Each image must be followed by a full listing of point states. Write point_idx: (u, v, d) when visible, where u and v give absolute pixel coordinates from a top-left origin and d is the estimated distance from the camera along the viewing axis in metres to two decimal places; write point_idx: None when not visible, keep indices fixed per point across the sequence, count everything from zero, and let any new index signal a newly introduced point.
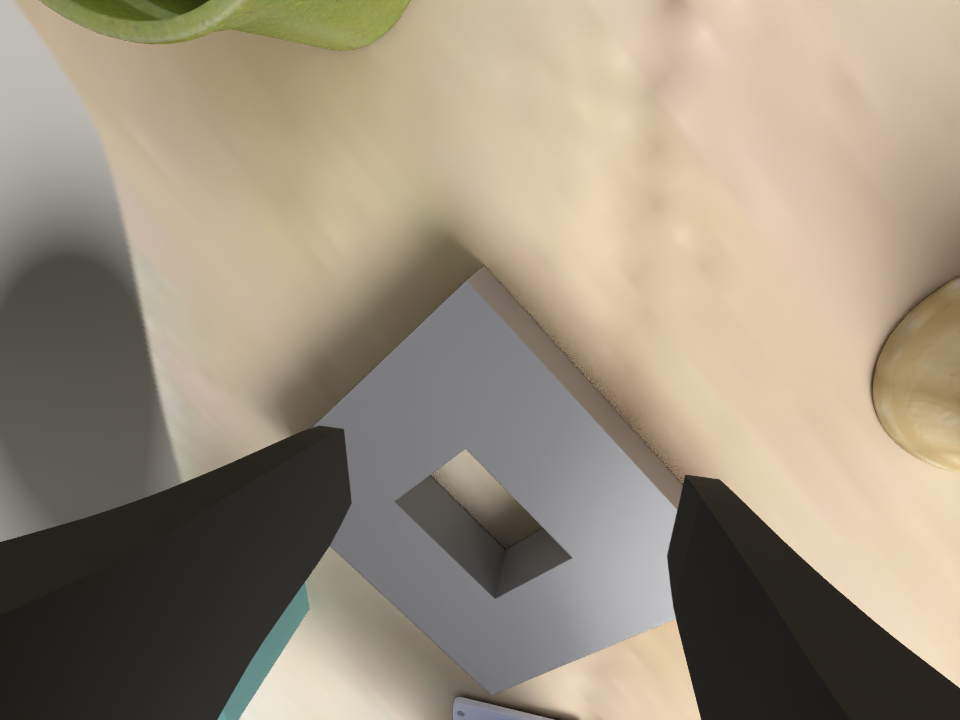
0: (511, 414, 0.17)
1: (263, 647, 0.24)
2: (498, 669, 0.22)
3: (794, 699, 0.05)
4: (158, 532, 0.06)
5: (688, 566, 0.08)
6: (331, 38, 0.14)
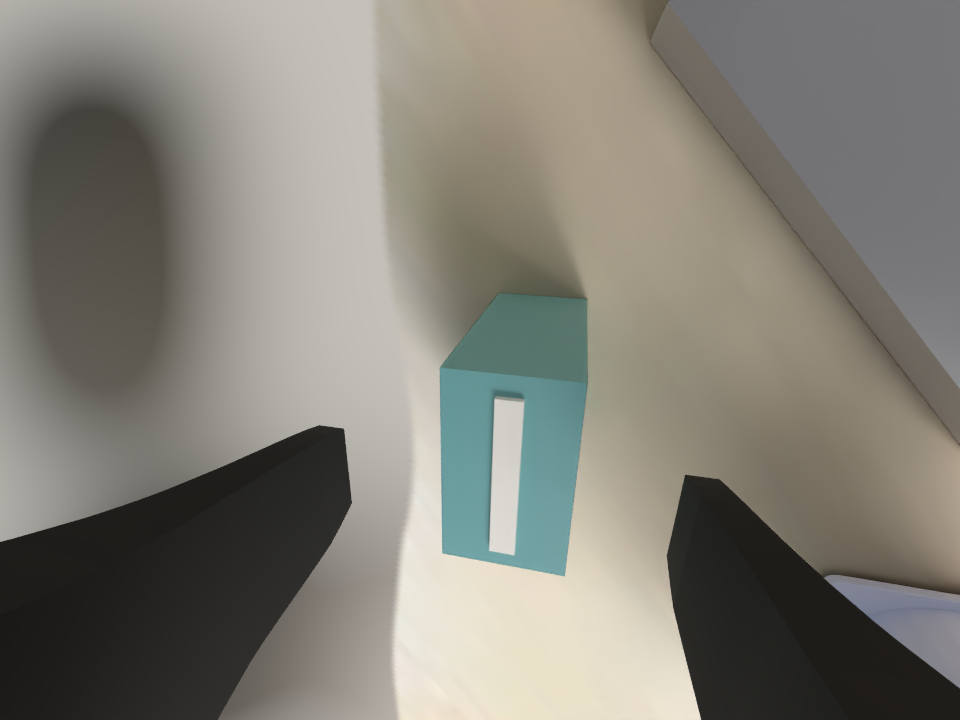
0: None
1: None
2: None
3: (794, 699, 0.05)
4: (157, 532, 0.06)
5: (688, 566, 0.08)
6: None
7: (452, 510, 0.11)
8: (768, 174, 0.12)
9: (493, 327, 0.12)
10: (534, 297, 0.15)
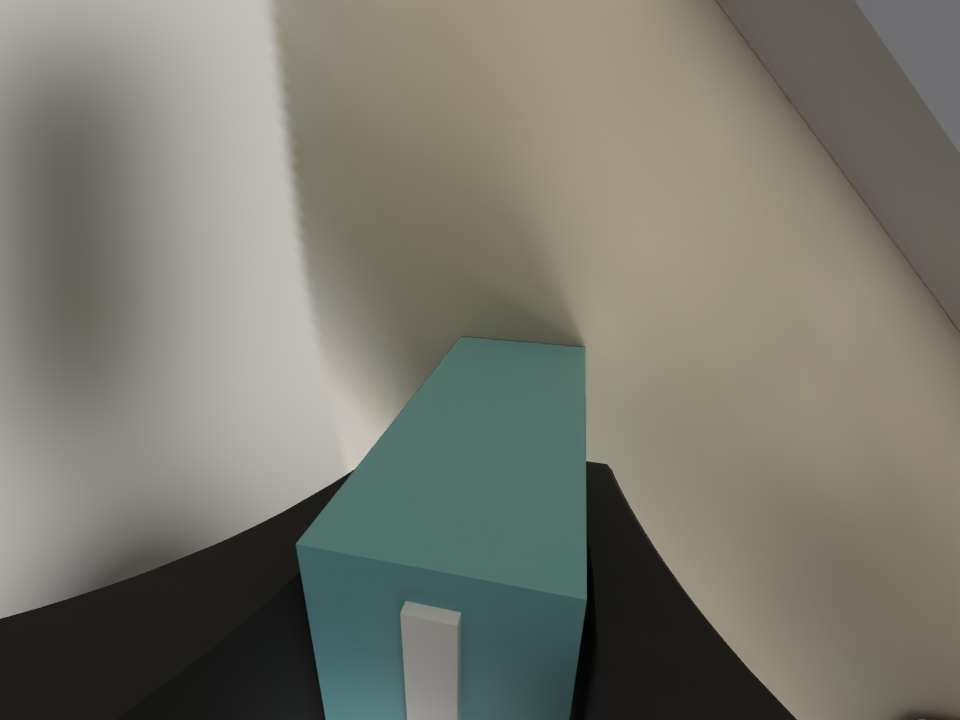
0: None
1: None
2: None
3: (590, 655, 0.05)
4: (297, 560, 0.06)
5: None
6: None
7: None
8: (881, 166, 0.07)
9: (433, 415, 0.07)
10: (509, 345, 0.11)
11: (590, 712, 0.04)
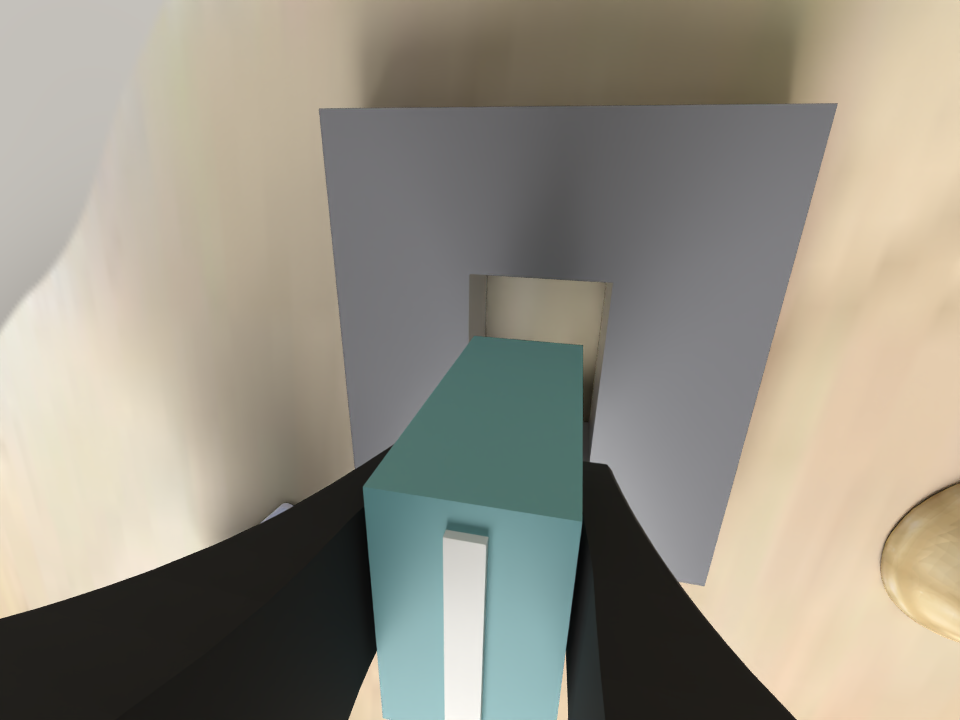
0: (699, 287, 0.13)
1: None
2: None
3: (590, 655, 0.05)
4: (296, 560, 0.06)
5: None
6: None
7: (393, 668, 0.08)
8: None
9: (457, 398, 0.09)
10: (517, 343, 0.12)
11: (590, 712, 0.04)
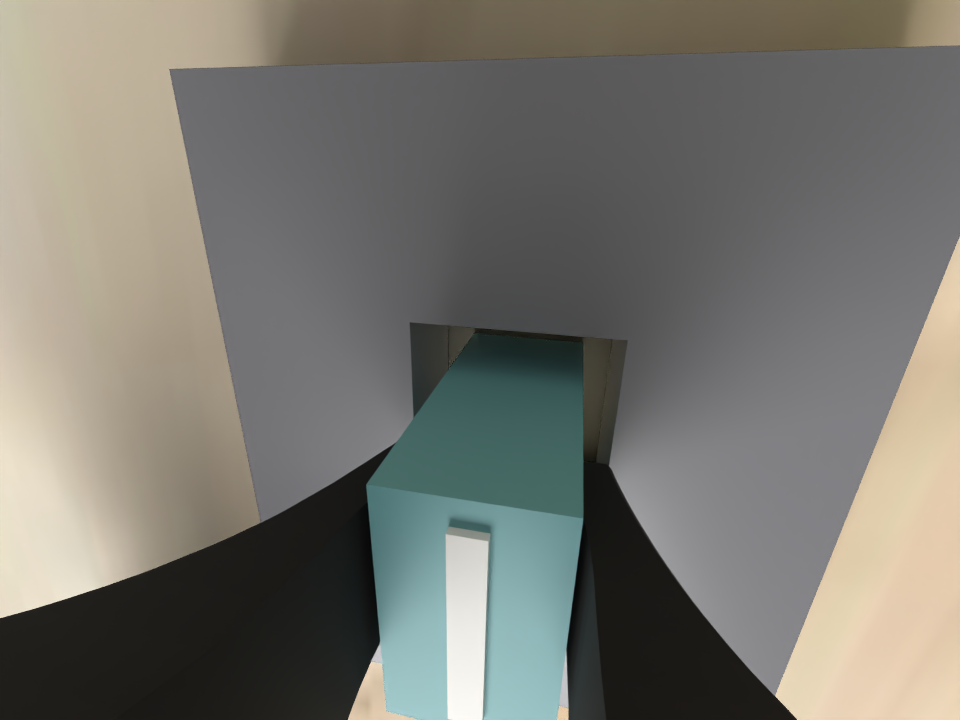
0: (764, 350, 0.08)
1: None
2: None
3: (590, 655, 0.05)
4: (296, 560, 0.06)
5: None
6: None
7: (396, 663, 0.08)
8: None
9: (458, 396, 0.09)
10: (517, 340, 0.12)
11: (590, 712, 0.04)
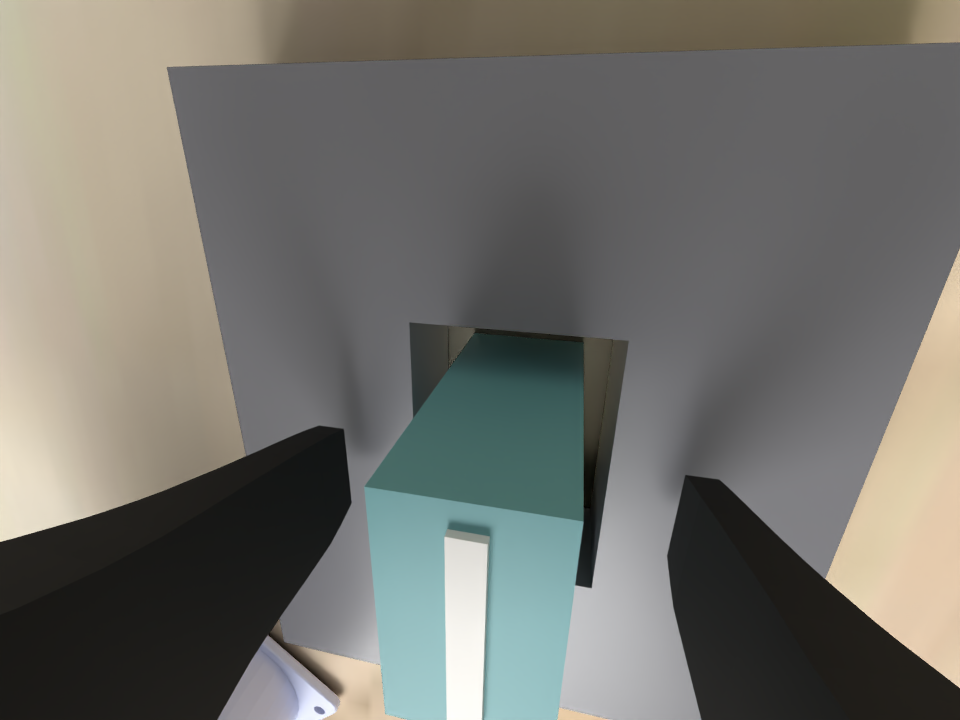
0: (767, 351, 0.08)
1: None
2: (327, 626, 0.14)
3: (794, 699, 0.05)
4: (157, 532, 0.06)
5: (688, 566, 0.08)
6: None
7: (394, 665, 0.08)
8: None
9: (457, 396, 0.09)
10: (517, 340, 0.12)
11: None
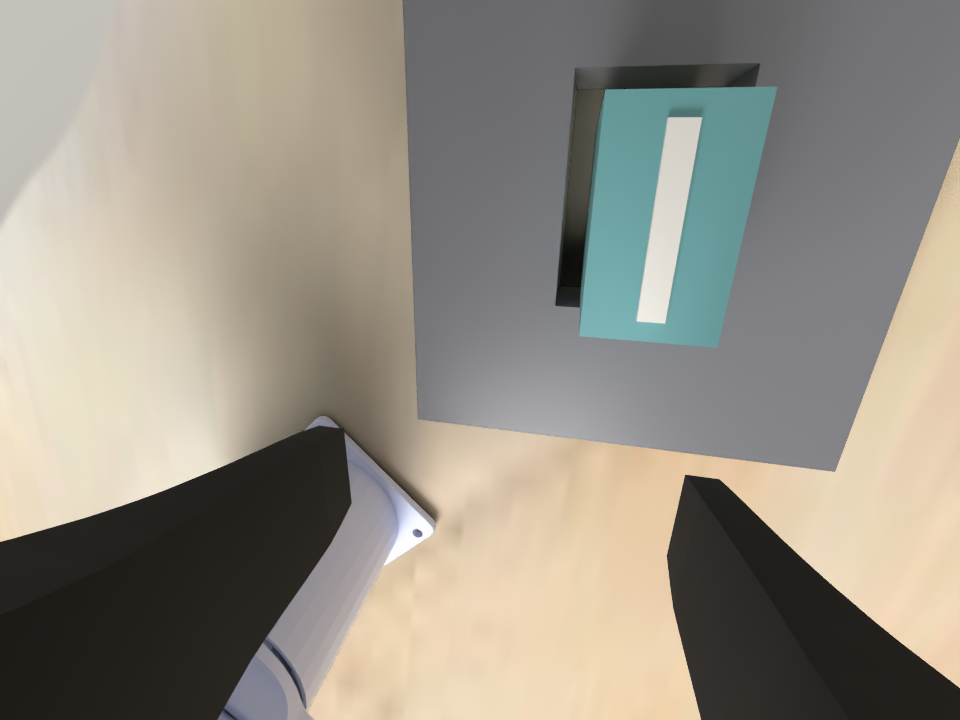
0: (873, 60, 0.11)
1: None
2: (461, 394, 0.16)
3: (794, 699, 0.05)
4: (158, 532, 0.06)
5: (688, 566, 0.08)
6: None
7: (597, 278, 0.10)
8: None
9: None
10: None
11: None
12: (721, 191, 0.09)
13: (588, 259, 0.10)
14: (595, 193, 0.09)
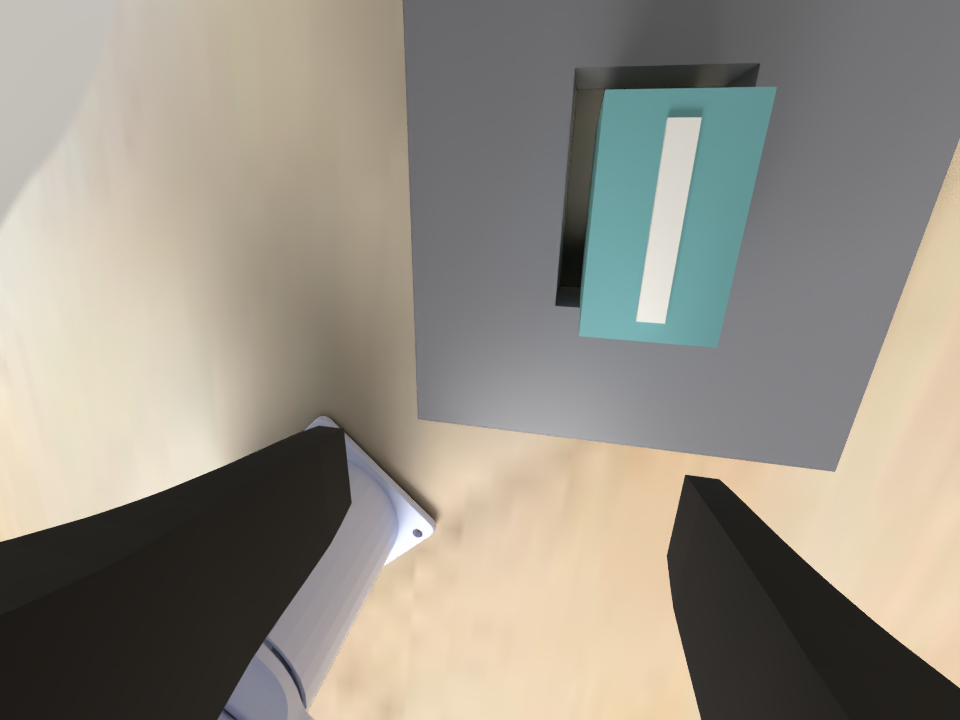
0: (873, 60, 0.11)
1: None
2: (461, 394, 0.16)
3: (794, 699, 0.05)
4: (158, 532, 0.06)
5: (688, 566, 0.08)
6: None
7: (597, 278, 0.10)
8: None
9: None
10: None
11: None
12: (721, 191, 0.09)
13: (588, 259, 0.10)
14: (595, 193, 0.09)
